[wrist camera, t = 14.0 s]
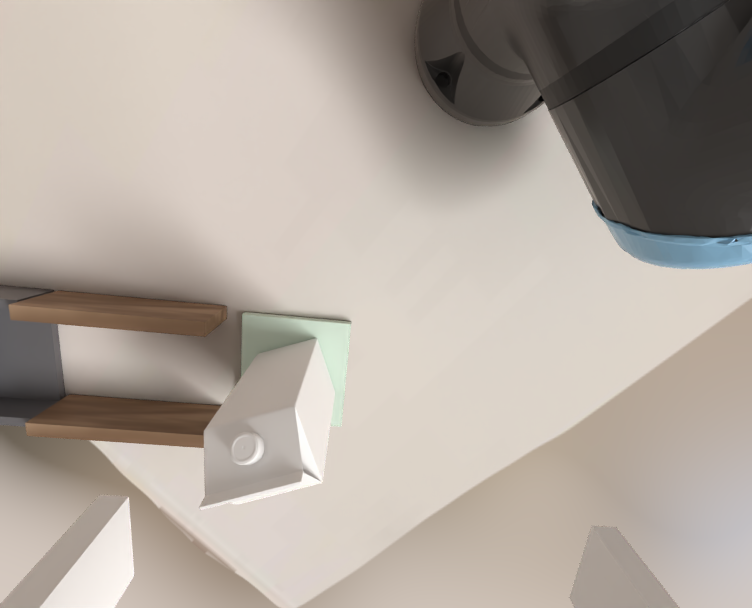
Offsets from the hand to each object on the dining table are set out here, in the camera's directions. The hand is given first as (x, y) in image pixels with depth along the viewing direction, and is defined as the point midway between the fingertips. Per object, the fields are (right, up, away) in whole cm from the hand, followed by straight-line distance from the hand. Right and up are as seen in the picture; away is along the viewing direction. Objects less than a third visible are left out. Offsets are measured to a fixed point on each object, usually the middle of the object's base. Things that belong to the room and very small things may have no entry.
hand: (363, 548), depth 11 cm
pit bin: (-39, +2, +32) cm, 51 cm away
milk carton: (-9, -1, +33) cm, 34 cm away
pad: (-9, -1, +34) cm, 35 cm away
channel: (-26, +1, +33) cm, 42 cm away
